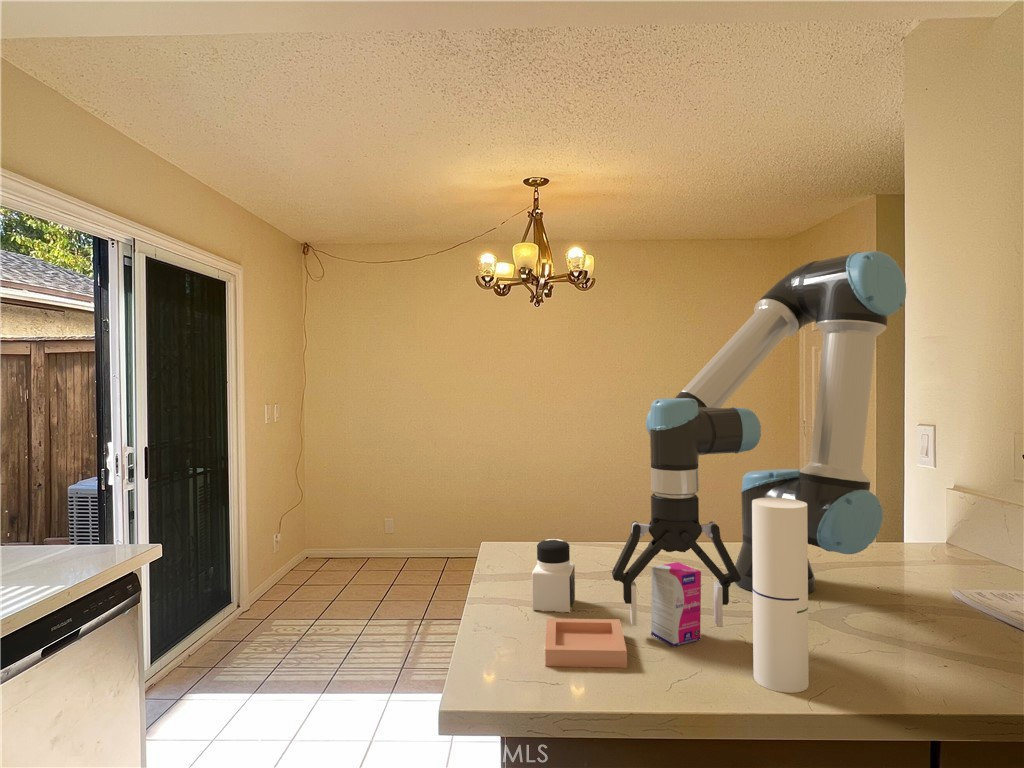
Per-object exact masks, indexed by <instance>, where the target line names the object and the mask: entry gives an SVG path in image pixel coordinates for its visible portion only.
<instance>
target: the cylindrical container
mask: <svg viewBox="0 0 1024 768" xmlns="http://www.w3.org/2000/svg"><path fill="white" fill-rule="evenodd" d="M808 545H809V544H808V529H807V503H805V502H803V501H799V500H794V499H787V498H758V499H754V500H752V563H753V591H752V643H753V644H752V645H753V647H752V650H753V651H752V652H753V653H752V654H753V655H752V656H753V658H752V659H753V660H752V661H753V662H752V663H753V666H752V668H753V669H752V670H753V673H752V674H753V679H754V681H755V682H756V683H757V685H760V687H763V688H766V689H767V690H768V689H769V690H770V691H775V692H778V693H784V694H785V693H786V694H787V693H788V694H795V693H800V692H803V691H805V690H807V689H808V688H809V687H810V686H809V683H810V682H809V678H810V677H809V593H808V559H809V557H808V556H809V551H808Z"/></svg>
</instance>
